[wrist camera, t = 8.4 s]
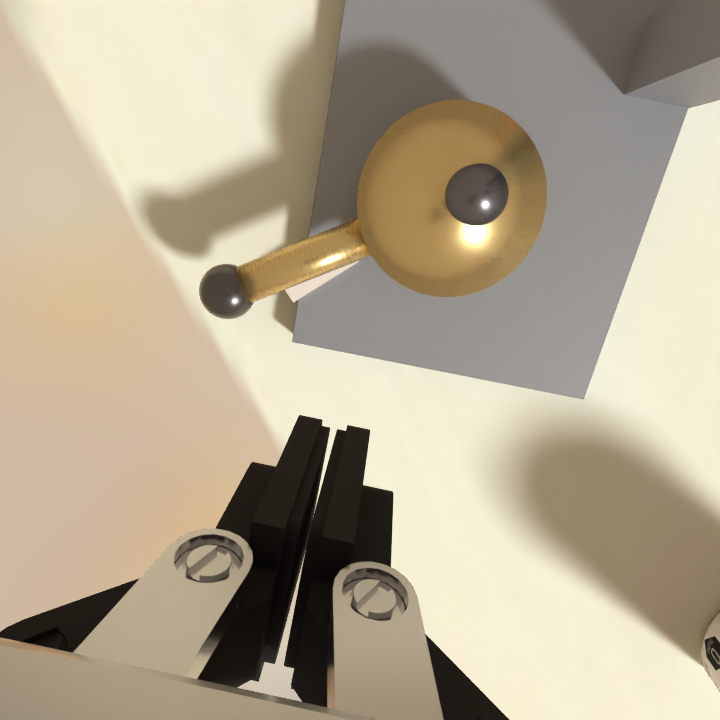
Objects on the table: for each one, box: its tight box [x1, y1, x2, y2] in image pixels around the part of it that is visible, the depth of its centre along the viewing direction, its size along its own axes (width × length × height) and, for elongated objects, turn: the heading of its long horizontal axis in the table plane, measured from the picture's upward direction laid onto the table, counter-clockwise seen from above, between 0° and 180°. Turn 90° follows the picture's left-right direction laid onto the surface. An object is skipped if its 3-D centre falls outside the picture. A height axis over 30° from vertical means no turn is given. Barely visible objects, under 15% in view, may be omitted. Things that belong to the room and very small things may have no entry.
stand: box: [285, 0, 720, 399], centre depth 19 cm, size 20×17×13 cm
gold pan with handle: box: [199, 100, 547, 319], centre depth 23 cm, size 16×8×4 cm, turn 112°
